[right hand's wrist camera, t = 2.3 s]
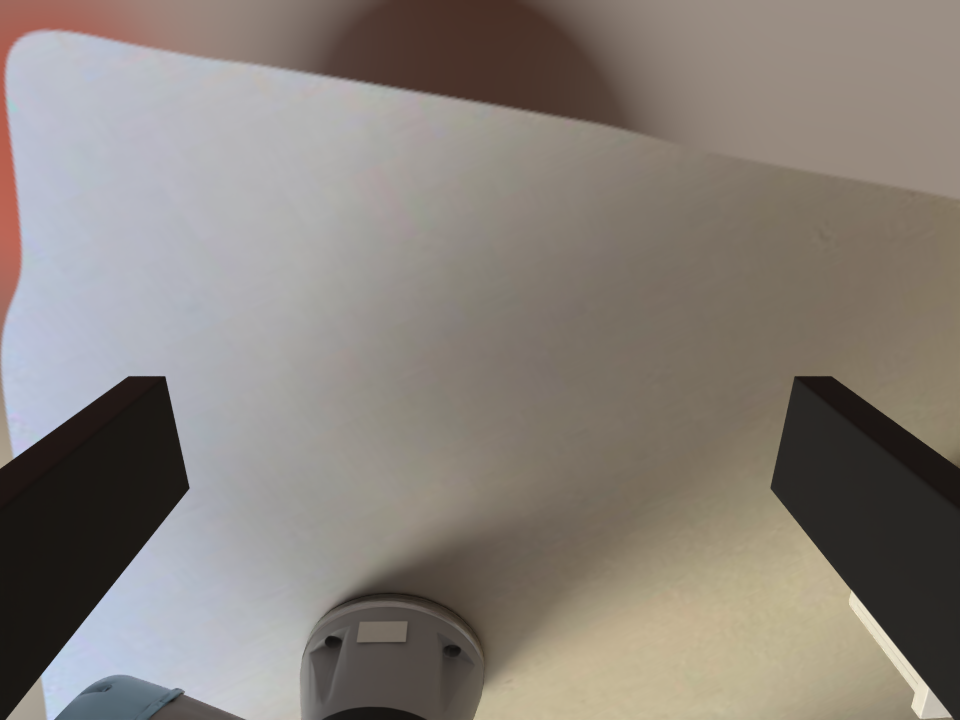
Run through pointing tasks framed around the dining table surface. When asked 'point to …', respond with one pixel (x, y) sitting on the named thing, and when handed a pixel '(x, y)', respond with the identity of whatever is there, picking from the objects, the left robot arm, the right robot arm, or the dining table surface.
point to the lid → (927, 703)
